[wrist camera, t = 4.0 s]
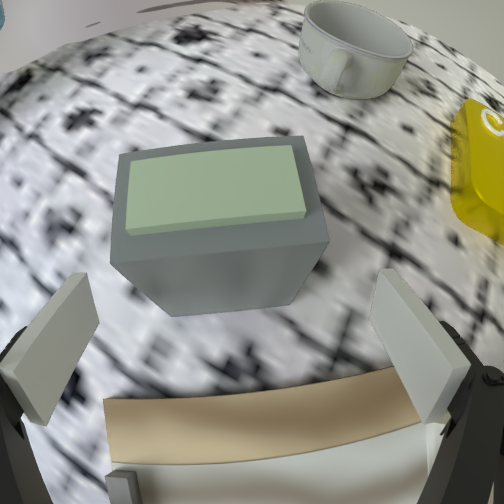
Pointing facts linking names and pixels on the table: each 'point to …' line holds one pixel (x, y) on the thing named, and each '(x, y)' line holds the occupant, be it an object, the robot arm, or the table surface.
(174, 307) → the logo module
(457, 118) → the element tile
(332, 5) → the teacup
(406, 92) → the table surface
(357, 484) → the rail plate
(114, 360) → the table surface
